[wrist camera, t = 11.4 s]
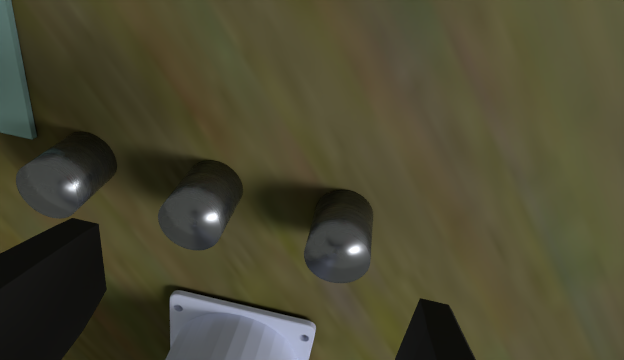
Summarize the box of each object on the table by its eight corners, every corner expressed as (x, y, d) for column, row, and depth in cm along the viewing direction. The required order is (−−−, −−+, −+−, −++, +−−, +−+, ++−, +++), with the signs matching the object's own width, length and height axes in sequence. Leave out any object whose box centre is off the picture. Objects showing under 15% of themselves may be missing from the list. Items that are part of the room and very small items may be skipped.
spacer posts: (365, 243, 20) (362, 289, 18) (66, 175, 21) (22, 210, 19) (478, -141, 13) (499, -155, 10) (3, -227, 14) (-87, -260, 11)
